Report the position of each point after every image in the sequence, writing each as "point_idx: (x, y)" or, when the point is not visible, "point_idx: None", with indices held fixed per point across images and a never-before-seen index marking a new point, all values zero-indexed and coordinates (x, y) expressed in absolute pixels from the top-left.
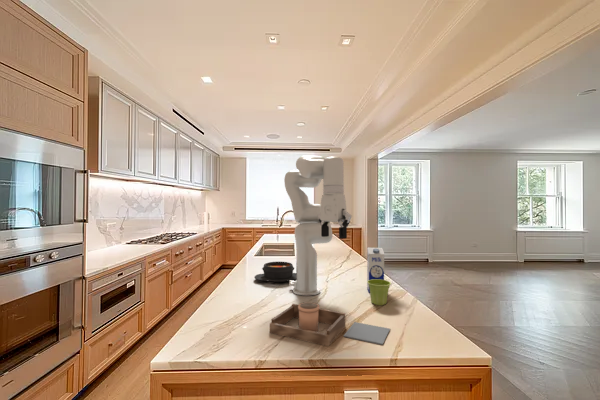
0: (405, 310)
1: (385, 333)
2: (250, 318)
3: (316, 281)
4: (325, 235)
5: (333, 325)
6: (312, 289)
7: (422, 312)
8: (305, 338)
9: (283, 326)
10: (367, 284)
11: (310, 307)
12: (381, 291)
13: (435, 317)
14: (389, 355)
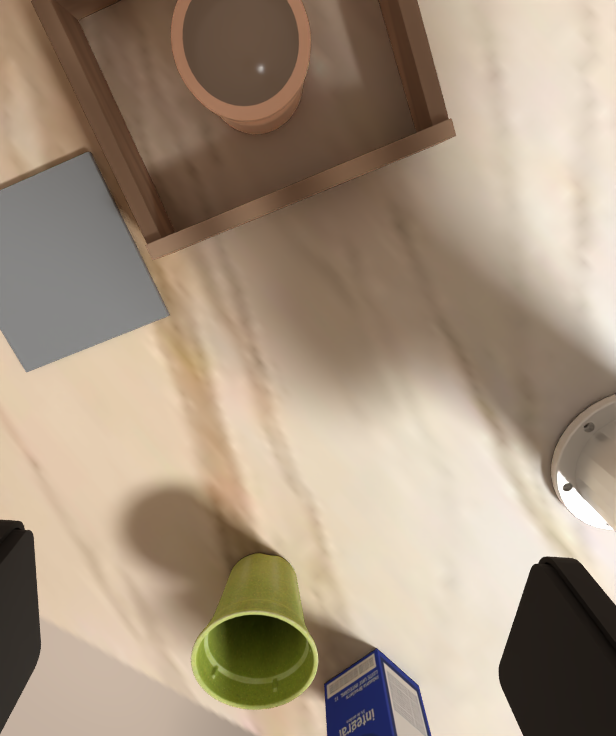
0: (133, 584)
1: (1, 316)
2: None
3: (607, 519)
4: (525, 625)
5: (78, 83)
6: (586, 464)
7: (78, 611)
8: None
9: None
10: (417, 702)
11: (206, 20)
12: (219, 608)
13: None
14: None
